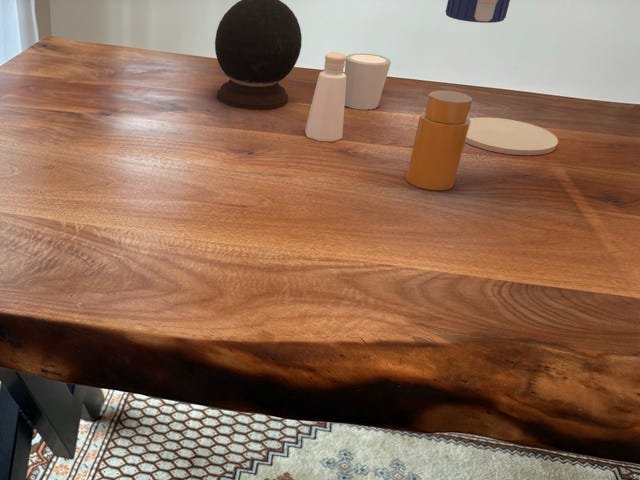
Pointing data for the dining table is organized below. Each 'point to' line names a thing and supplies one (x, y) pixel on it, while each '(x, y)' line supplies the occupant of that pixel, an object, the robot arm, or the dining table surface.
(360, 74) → the white tapered cup
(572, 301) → the dining table surface
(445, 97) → the jar
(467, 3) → the lid
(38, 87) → the dining table surface
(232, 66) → the ball on pedestal
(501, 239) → the dining table surface
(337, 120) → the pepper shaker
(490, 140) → the disc
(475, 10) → the robot arm
